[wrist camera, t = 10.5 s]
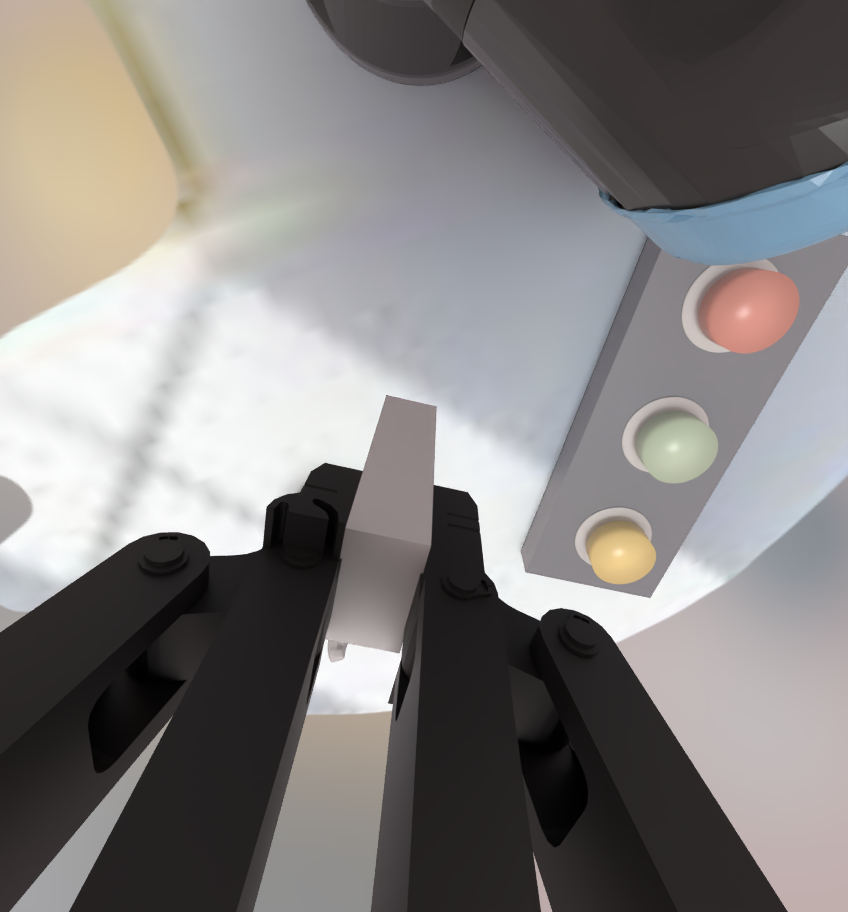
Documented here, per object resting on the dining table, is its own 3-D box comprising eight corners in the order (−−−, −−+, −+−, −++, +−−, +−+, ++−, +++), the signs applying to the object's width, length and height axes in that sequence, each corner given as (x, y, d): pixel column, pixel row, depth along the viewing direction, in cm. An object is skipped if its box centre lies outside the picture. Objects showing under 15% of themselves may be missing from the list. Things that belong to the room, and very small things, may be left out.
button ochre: (599, 515, 40) (606, 529, 38) (657, 527, 40) (666, 542, 38) (577, 561, 42) (583, 577, 40) (631, 573, 42) (640, 589, 40)
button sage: (652, 403, 35) (664, 413, 33) (717, 418, 35) (731, 429, 34) (624, 462, 37) (633, 475, 36) (685, 476, 38) (697, 489, 36)
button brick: (722, 258, 31) (739, 261, 29) (795, 278, 31) (816, 282, 29) (685, 336, 33) (699, 343, 31) (753, 353, 33) (771, 361, 31)
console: (665, 193, 32) (686, 192, 30) (829, 237, 33) (865, 240, 30) (520, 551, 47) (525, 573, 44) (638, 575, 47) (651, 599, 45)
